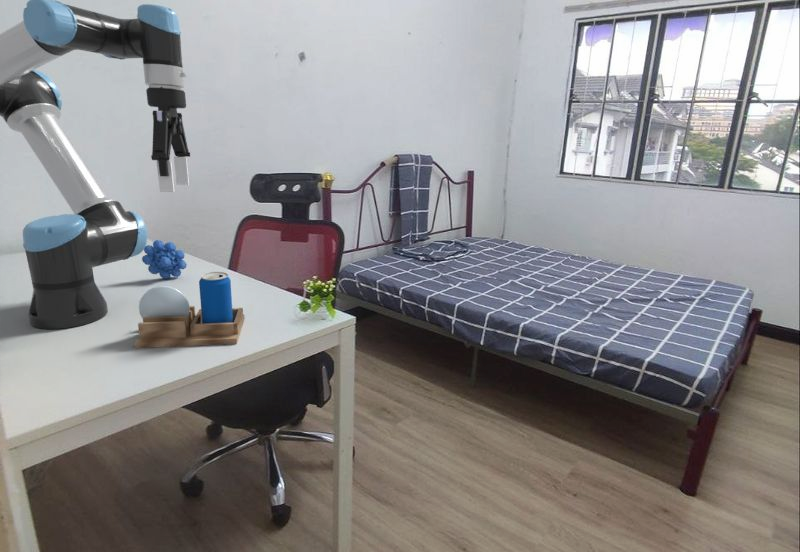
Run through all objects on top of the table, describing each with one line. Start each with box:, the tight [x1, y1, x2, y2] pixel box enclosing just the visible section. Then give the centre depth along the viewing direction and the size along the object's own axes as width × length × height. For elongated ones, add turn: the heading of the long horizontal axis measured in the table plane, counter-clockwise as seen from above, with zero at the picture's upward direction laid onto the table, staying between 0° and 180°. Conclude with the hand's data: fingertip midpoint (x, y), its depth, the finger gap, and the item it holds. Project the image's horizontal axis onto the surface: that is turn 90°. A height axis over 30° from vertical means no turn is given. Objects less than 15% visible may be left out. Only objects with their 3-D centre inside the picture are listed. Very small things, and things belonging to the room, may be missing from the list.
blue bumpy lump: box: [141, 239, 188, 280], centre depth 137 cm, size 12×7×12 cm, turn 120°
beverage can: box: [198, 271, 233, 324], centre depth 104 cm, size 6×6×12 cm
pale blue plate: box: [138, 285, 191, 319], centre depth 101 cm, size 10×1×10 cm, turn 101°
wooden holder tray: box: [134, 305, 246, 349], centre depth 104 cm, size 20×14×5 cm
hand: (175, 188), depth 106 cm, fingers open, 13 cm apart
